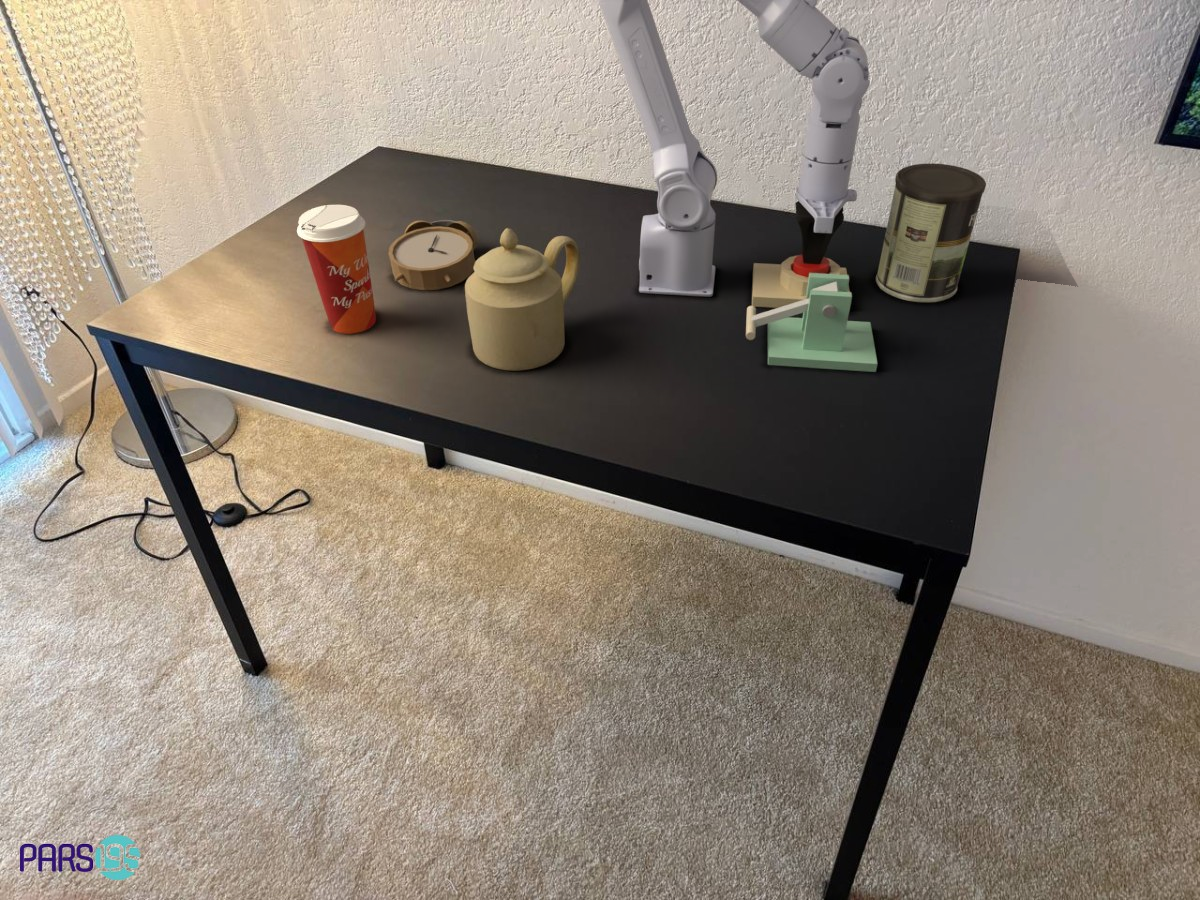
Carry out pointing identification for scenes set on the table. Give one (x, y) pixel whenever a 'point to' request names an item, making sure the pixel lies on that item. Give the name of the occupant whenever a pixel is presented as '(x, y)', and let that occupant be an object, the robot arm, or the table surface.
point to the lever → (780, 312)
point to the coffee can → (929, 231)
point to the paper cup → (340, 265)
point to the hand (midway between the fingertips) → (811, 261)
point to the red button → (810, 267)
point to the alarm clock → (433, 254)
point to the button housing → (782, 283)
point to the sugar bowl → (520, 303)
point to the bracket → (823, 332)
